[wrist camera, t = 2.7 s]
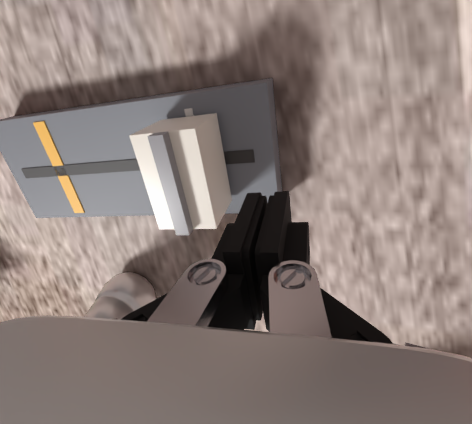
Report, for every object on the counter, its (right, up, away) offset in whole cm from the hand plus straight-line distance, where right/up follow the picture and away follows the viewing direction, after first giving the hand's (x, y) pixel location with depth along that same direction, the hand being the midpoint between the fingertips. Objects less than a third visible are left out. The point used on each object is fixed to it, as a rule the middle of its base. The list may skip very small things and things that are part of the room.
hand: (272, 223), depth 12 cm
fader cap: (-4, +5, +11) cm, 13 cm away
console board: (-10, +6, +16) cm, 20 cm away
